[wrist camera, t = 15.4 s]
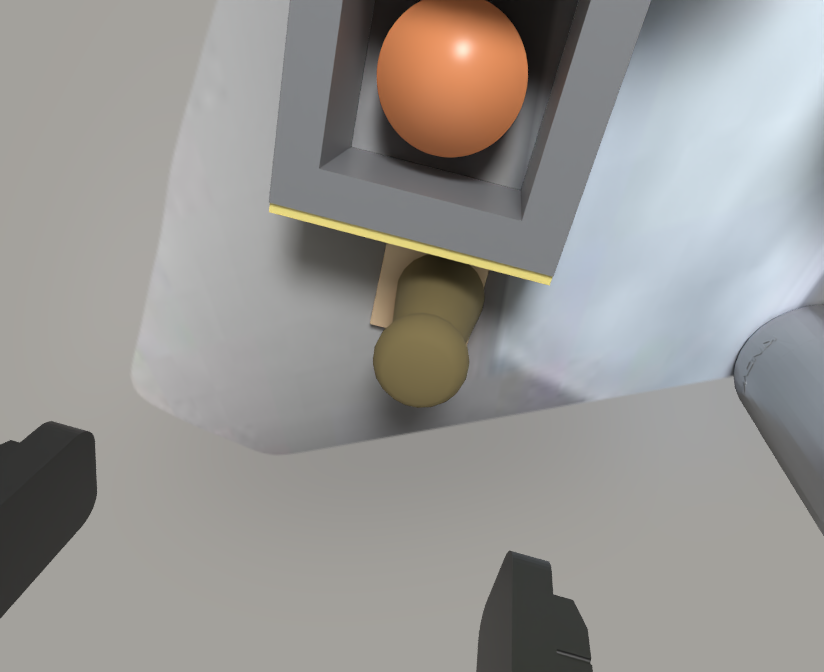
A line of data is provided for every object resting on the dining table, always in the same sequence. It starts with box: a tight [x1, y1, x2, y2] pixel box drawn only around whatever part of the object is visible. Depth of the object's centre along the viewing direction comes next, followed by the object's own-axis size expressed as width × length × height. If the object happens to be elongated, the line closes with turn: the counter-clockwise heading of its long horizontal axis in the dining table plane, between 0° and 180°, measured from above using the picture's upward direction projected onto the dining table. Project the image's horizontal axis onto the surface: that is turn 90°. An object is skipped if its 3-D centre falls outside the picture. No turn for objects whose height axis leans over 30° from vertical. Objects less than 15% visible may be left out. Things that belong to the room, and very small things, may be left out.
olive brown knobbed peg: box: [373, 254, 485, 408], centre depth 36 cm, size 6×6×11 cm
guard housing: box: [269, 0, 651, 285], centre depth 32 cm, size 16×17×7 cm
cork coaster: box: [370, 243, 489, 345], centre depth 41 cm, size 7×7×1 cm
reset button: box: [377, 0, 528, 157], centre depth 33 cm, size 8×8×3 cm
